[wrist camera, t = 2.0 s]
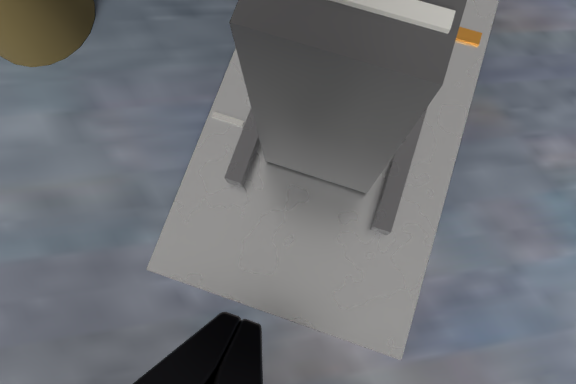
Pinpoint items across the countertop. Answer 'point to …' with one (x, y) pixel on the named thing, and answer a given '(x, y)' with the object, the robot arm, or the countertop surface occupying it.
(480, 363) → the countertop surface
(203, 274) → the plate
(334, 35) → the fader tab
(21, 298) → the countertop surface
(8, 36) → the cork
